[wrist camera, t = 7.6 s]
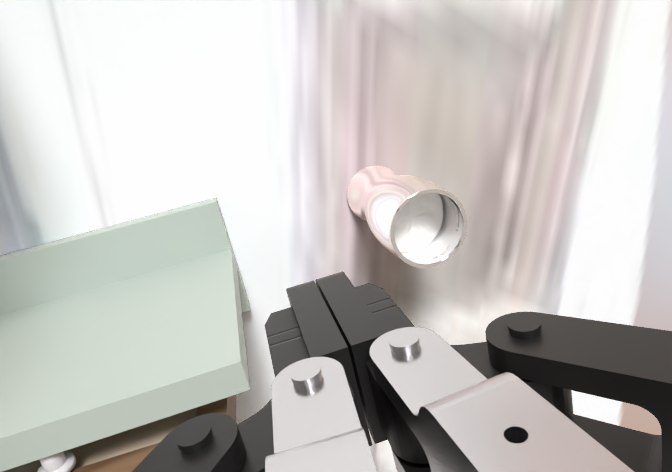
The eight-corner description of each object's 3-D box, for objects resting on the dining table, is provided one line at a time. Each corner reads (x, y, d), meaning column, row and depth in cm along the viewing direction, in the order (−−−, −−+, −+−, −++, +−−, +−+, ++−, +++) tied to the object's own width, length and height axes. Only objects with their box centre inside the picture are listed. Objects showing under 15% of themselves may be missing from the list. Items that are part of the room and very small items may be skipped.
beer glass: (339, 223, 53) (383, 270, 39) (345, 158, 52) (393, 183, 38) (400, 225, 55) (463, 271, 41) (408, 162, 53) (476, 188, 39)
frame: (-18, 403, 40) (-145, 561, 26) (229, 331, 42) (226, 443, 29) (-7, 423, 40) (-125, 587, 27) (236, 351, 42) (235, 470, 29)
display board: (-38, 266, 46) (-279, 430, 24) (216, 197, 50) (215, 284, 27) (16, 373, 50) (-147, 602, 28) (249, 302, 54) (272, 455, 31)
